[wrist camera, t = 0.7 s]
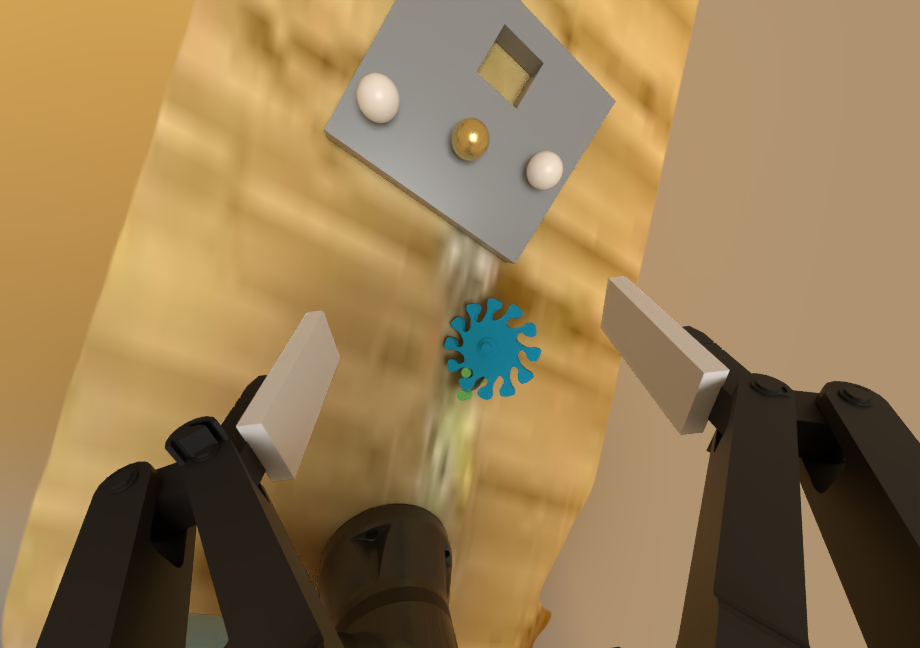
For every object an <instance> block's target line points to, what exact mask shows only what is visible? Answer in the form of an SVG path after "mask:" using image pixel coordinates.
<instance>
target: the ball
mask: <svg viewBox="0 0 920 648" xmlns="http://www.w3.org/2000/svg"><path fill="white" fill-rule="evenodd" d="M489 143H490V135H489V131H488V128H487V127H486V125H485V124H484V123H483V122H482V121H481V120H479V119H477V118H473V117H469V118H465V119H463V120H461V121H460V122H459V123H458V124H457V125H456V126H455V128H454V130H453V133H452V146H453V149H454V151H455V152H456V154H457V155H458V156H459V157H460V158H462V159H464V160H467V161H474V160H477V159H479V158H481V157H482V156H483V155H484V154H485V153H486V151H487V149H488V147H489Z"/></svg>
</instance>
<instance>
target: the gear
mask: <svg viewBox="0 0 920 648" xmlns="http://www.w3.org/2000/svg"><path fill="white" fill-rule="evenodd" d="M501 307H502V302H500V301H498V300H495V299H492V298H490V299H489V300H488V302H487V313H486V315H485V317H484V319H483V320H482V321H481V322H478V320H477V316H478V315H479V313H480V311H481V306H480V305H479V304H475V303H474V304H469V305H467V307H466V310H467V312H468V313H469V316H470V319H471V326H470V330H469V331H468V332H466V330H465V320H464V319H463V318H462V317H457V318H455V319H454V320H453V321H452V322H451V326H452V328H454V329H456V330H457V331H458V332H459V333H460V334H461V336H462V338H463V341H464V343H463V346H461V347H460V346H459V344H458V341H457V340H456V339H455V338H452V337H448V338H447V339H446V342H445V345H444V347H445V349H447V350H456V351H458V352H460V353H461V354H462V355H463V356H464V358H465V360H464V362H463V363H461V362H460V361H458V360H457V359H451V360H448V370H449V372H456V371H458V370H460V369H461V368H463V369H462V371H461V374H462V376H463V377H464V378H461V379H460V380H459V384H460V386H461V387H462V389H463V390H461V391H459V392H458V395H457V396H458V399H459V400H461V401H464V400H467V399H470V398H471V397H472V392H471V391H472V390H476V389H477V388H478V387H479V386H480V384H483V383H484V379H485V378H486V379H487V385H486V386H484V387H482V388H480V389H479V390H478V395H479V396H480V397H481V398H483V399H486V400H488V399H491V398H492V396H493V385H494V382H495V380H496V379H497V378H498V376H501V377H502V378H503V379H504V384H503V385H502V387H501V388H500V395H501V396H503V397H507V396H512V395H515V388H514V387H513V385H512V383H511V380H510V371H511V368H512V367H513V366H514V367H516V368H517V369H518V380H519V382H520V383H522V384H523V383H527V382H528V381H530V380H531V379H532V378H533V377H534V376H533V373H532V372H531V371H529V370H527V369H526V368H525V367H524V366H523V365H522V364H521V362H520V360H519V358H518V353H519V351H521V350H523V351H524V352H525V353H526V356H527V358H528V359H529V360H530V361H537V360H538V359H539V357H540V354H541V350H540V349H539V348H537V347H531V348H530V347H526V346H524V345H522V344H521V343H519V342H518V341H517V335H518V334H519V333H521V332H522V333H523V334H524V335H526V336H529V337H534V336H536V326H535V324H533V323H526V324H525V325H524V326H522V327H520V328H509V327H508V325H507V322H508V320H509V319H511V318H520V317H521V316H522V315H523V312H522V311H521V309H520V308H519V307H518V306H517V305H515V304H513V305H511V306H510V307H509V309H508V311H507V313H506V314H505V315H504V316H503V317H502V318H500V319H498V320H496V321H495V320H494V319H493V314H494V312H496V311H498V310H500V309H501Z"/></svg>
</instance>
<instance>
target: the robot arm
mask: <svg viewBox="0 0 920 648" xmlns="http://www.w3.org/2000/svg"><path fill="white" fill-rule="evenodd" d="M601 329H602V330H603V332H604V333H605V334H606V336H607V337H608V338H609V340H610V341H611V342H612V344H613V345H614V346H615V348H616V349H617V351H618V352H619V353H620V355H621V356H622V357H623V359H624V360H625V361H626V362H627V364H628V365H629V366H630V368H631V369H632V371H633V372H634V373H635V375H636V376H637V377H638V379H639V380H640V381H641V383H642V384H643V385H644V387H645V388H646V389H647V391H648V392H649V393H650V395H651V396H652V397H653V399H654V400H655V401H656V403H657V404H658V405H659V407H660V408H661V409H662V411H663V412H664V414H665V415H666V416H667V418H668V419H669V420H670V422H671V423H672V424H673V426H674V427H675V428H676V430H677V431H678V432H679V434H680V435H684V434H693V433H702V432H703V431H704V429H705V427H706V424H707V422H708V420H709V421H710V422H711V423H712V424H713V425H714V426H715V428H716V431H715V433H714V436H713V438H712V440H711V442H710V444H709V446H708V449H707V451H708V452H710V459H709V464H708V469H707V475H706V481H705V487H704V492H703V498H702V505H701V510H700V516H699V522H698V527H697V533H696V539H695V544H694V550H693V556H692V562H691V567H690V573H689V579H688V585H687V590H686V596H685V602H684V608H683V613H682V620H681V625H680V631H679V636H678V641H677V644H676V648H810V646H809V640H808V627H807V608H806V590H805V571H804V553H803V535H802V516H801V497H800V483H801V485H802V488H803V490H804V493H805V495H806V498H807V500H808V502H809V505H810V507H811V510H812V512H813V514H814V517H815V520H816V522H817V524H818V527H819V529H820V531H821V534H822V537H823V539H824V542H825V544H826V546H827V549H828V551H829V554H830V556H831V559H832V561H833V563H834V566H835V568H836V571H837V573H838V576H839V578H840V581H841V583H842V586H843V588H844V590H845V593H846V595H847V598H848V600H849V603H850V605H851V607H852V610H853V612H854V615H855V617H856V620H857V622H858V625H859V627H860V629H861V632H862V634H863V637H864V639H865V642H866V644H867V647H868V648H920V443H919V441H918V440H917V439H916V438H915V436H914V435H913V434H912V433H911V431H910V430H909V429H908V427H907V426H906V425H905V424H904V423H903V421H902V420H901V419H900V417H899V416H898V415H897V414H896V412H895V411H894V410H893V408H892V407H891V406H890V405H889V403H888V402H887V401H886V400H885V399H884V398H882V397H881V396H880V395H878V394H877V393H875V392H873V391H871V390H870V389H868V388H865V387H862V386H860V385H857V384H852V383H848V382H840V381H833V382H828V383H826V385H825V386H824V387H823V389H822V390H821V392H820V393H813V392H803V391H794V390H792V389H791V388H790V387H789V386H788V385H787V384H785V383H783V382H781V381H780V380H778V379H776V378H773V377H770V376H767V375H763V374H757V373H756V374H755V373H753V374H751V373H750V372H749V371H748V370H747V369H745V368H744V367H743V366H742V365H741V364H740V363H738V362H737V361H736V360H735V359H734V358H732V357H731V356H730V355H729V354H728V353H727V352H725V351H724V350H722V348H721V347H720V346H718V345H717V344H716V343H713V341H712V340H711V339H710V338H709V337H708V336H707V335H705V334H704V333H703V332H701V331H699V330H696V329H694V328H692V327H690V326H685V327H681V326H680V325H679V324H678V323H677V322H676V321H674V320H673V319H672V318H671V317H670V316H669V315H668V314H667V313H666V312H664V311H663V310H662V309H661V308H660V307H659V306H658V305H656V304H655V303H654V302H653V301H652V300H651V299H650V298H649V297H648V296H647V295H645V294H644V293H643V292H642V291H641V290H640V289H638V287H637V286H635V285H634V284H633V283H632V282H631V281H630V280H629V279H628V278H627V277H625V276H621V277H612V278H608V283H607V289H606V296H605V302H604V309H603V316H602V322H601ZM339 360H340V355H339V353H338V350H337V347H336V344H335V342H334V339H333V336H332V333H331V330H330V328H329V325H328V322H327V319H326V317H325V314H324V311H323V310H322V311H313V312H306V314H305V316H304V317H303V319H302V320H301V322H300V324H299V325H298V327H297V328H296V330H295V332H294V333H293V335H292V337H291V338H290V340H289V341H288V343H287V345H286V346H285V348H284V349H283V351H282V353H281V354H280V356H279V358H278V359H277V361H276V362H275V364H274V366H273V367H272V369H271V370H270V372H269V374H268V375H263V376H258V377H257V378H256V379H255V380H254V381H252V382H251V383H250V384H249V385H248V386H247V387H246V389H245V390H244V392H243V393H242V395H241V398H239V399H238V401H237V402H236V404H235V407H233V408H232V410H231V411H230V413H229V414H228V416H227V417H226V419H225V420H224V422H223V423H222V425H220V424H219V422H218V421H217V420H216V419H215V418H214V417H208V416H205V417H200V418H196V419H194V420H191V421H189V422H187V423H185V424H184V425H182V426H181V427H179V428H178V429H177V430H175V431H174V432H173V433H172V434H171V435H170V436H169V438H168V439H167V441H166V443H165V449H166V450H167V451H168V453H169V454H170V455H171V456H172V457H173V458H174V459H175V461H176V463H174V464H171V465H168V466H165V467H162V468H159V469H157V470H155V469H154V468H153V466H152V465H151V464H149V463H148V462H136V463H132V464H129V465H127V466H125V467H123V468H121V469H119V470H117V471H116V472H114V473H113V474H111V475H110V476H109V477H107V478H106V479H105V480H104V481H103V482H102V483H101V484H100V485H99V487H98V488H97V490H96V491H95V493H94V495H93V498H92V500H91V503H90V506H89V508H88V511H87V514H86V516H85V519H84V522H83V524H82V527H81V529H80V532H79V535H78V537H77V540H76V543H75V545H74V548H73V551H72V553H71V556H70V558H69V561H68V564H67V566H66V569H65V572H64V574H63V577H62V580H61V582H60V585H59V588H58V590H57V593H56V595H55V598H54V601H53V603H52V606H51V609H50V611H49V614H48V617H47V619H46V622H45V624H44V627H43V630H42V632H41V635H40V638H39V640H38V643H37V646H36V648H458V645H457V641H456V637H455V633H454V628H453V625H452V620H451V616H450V611H449V597H450V584H451V571H452V552H451V547H450V544H449V540H448V536H447V533H446V530H445V528H444V526H443V525H442V523H441V522H440V521H439V520H438V519H437V518H436V517H435V516H434V515H433V514H431V513H430V512H428V511H426V510H424V509H422V508H419V507H416V506H411V505H386V506H381V507H377V508H374V509H371V510H368V511H366V512H364V513H361V514H359V515H358V516H356V517H354V518H352V519H351V520H350V521H348V522H347V523H345V524H344V525H343V526H342V527H341V528H340V529H339V530H338V531H337V532H336V533H335V534H334V535H333V536H332V538H331V539H330V540H329V542H328V544H327V545H326V547H325V549H324V552H323V554H322V558H321V562H320V569H319V577H318V593H319V596H318V594H317V592H316V590H315V588H314V586H313V584H312V582H311V580H310V578H309V576H308V574H307V572H306V570H305V568H304V566H303V564H302V562H301V560H300V558H299V556H298V554H297V552H296V550H295V548H294V546H293V544H292V542H291V541H290V539H289V537H288V535H287V533H286V531H285V529H284V527H283V525H282V523H281V521H280V519H279V517H278V515H277V513H276V511H275V509H274V507H273V505H272V503H271V501H270V499H269V497H268V495H267V493H266V491H265V489H264V487H263V486H262V484H261V483H260V482H261V479H262V477H263V475H264V473H265V471H266V473H267V475H268V476H269V478H270V479H271V481H272V482H274V481H282V480H291V479H295V477H296V474H297V472H298V469H299V466H300V464H301V461H302V458H303V456H304V453H305V450H306V448H307V445H308V442H309V440H310V437H311V434H312V432H313V429H314V426H315V424H316V421H317V418H318V416H319V413H320V410H321V408H322V405H323V402H324V400H325V397H326V394H327V392H328V389H329V386H330V384H331V381H332V378H333V376H334V373H335V370H336V368H337V365H338V362H339ZM196 526H197V527H198V531H199V534H200V538H201V542H202V545H203V549H204V552H205V556H206V560H207V563H208V567H209V570H210V574H211V578H212V581H213V585H214V588H215V592H216V596H217V599H218V603H219V606H220V610H221V614H222V616H220V615H207V614H195V613H189V603H190V592H191V581H192V570H193V559H194V548H195V537H196ZM614 648H620V647H614Z"/></svg>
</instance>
